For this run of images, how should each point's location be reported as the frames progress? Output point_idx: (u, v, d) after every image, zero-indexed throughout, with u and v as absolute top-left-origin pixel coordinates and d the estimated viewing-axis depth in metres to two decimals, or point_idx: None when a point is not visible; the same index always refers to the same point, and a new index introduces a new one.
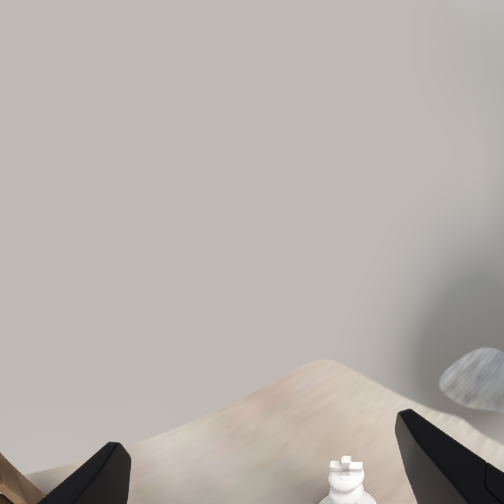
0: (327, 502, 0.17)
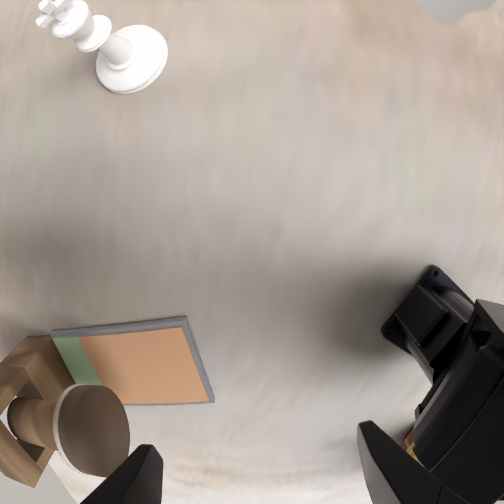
0: (101, 64, 0.15)
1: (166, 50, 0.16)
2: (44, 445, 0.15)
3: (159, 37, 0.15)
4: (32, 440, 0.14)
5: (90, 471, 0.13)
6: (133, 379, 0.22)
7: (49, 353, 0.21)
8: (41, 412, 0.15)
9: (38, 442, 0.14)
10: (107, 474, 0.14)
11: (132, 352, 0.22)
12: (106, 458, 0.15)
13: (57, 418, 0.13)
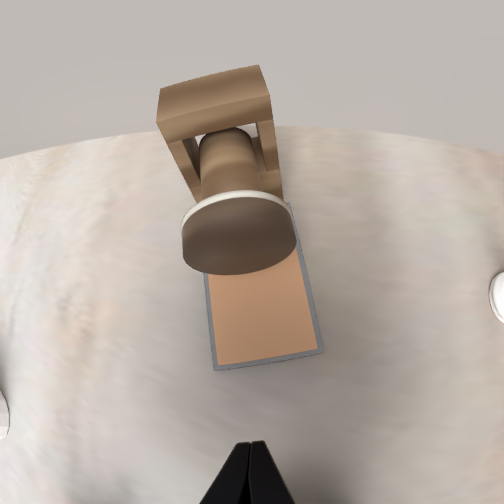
0: None
1: None
2: (217, 165, 0.18)
3: None
4: (221, 151, 0.19)
5: (218, 221, 0.15)
6: (245, 286, 0.24)
7: None
8: (258, 178, 0.19)
9: (221, 158, 0.18)
10: (196, 238, 0.16)
11: (282, 292, 0.23)
12: (214, 244, 0.16)
13: (282, 204, 0.17)
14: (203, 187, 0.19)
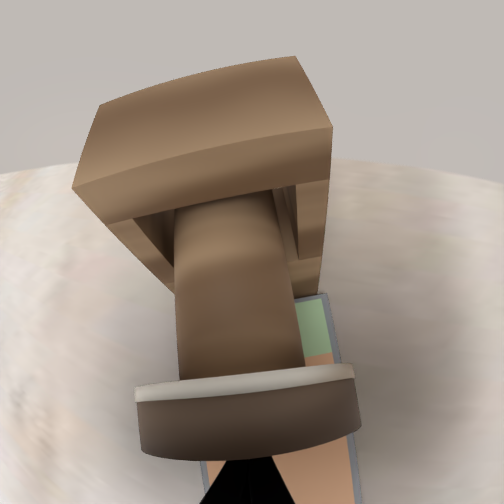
0: None
1: None
2: (204, 263, 0.09)
3: None
4: (213, 228, 0.09)
5: (204, 452, 0.05)
6: None
7: (301, 288, 0.16)
8: (289, 288, 0.09)
9: (212, 248, 0.09)
10: None
11: None
12: None
13: (345, 377, 0.07)
14: (177, 306, 0.09)
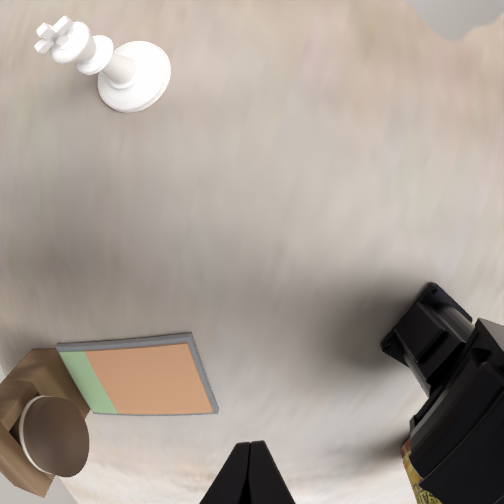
0: (103, 81, 0.16)
1: (169, 68, 0.16)
2: None
3: (162, 55, 0.15)
4: None
5: (50, 471, 0.14)
6: (139, 391, 0.23)
7: (55, 366, 0.22)
8: None
9: None
10: (66, 474, 0.15)
11: (138, 366, 0.22)
12: (65, 460, 0.15)
13: (22, 424, 0.14)
14: None
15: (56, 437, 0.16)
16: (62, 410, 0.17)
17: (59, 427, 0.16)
